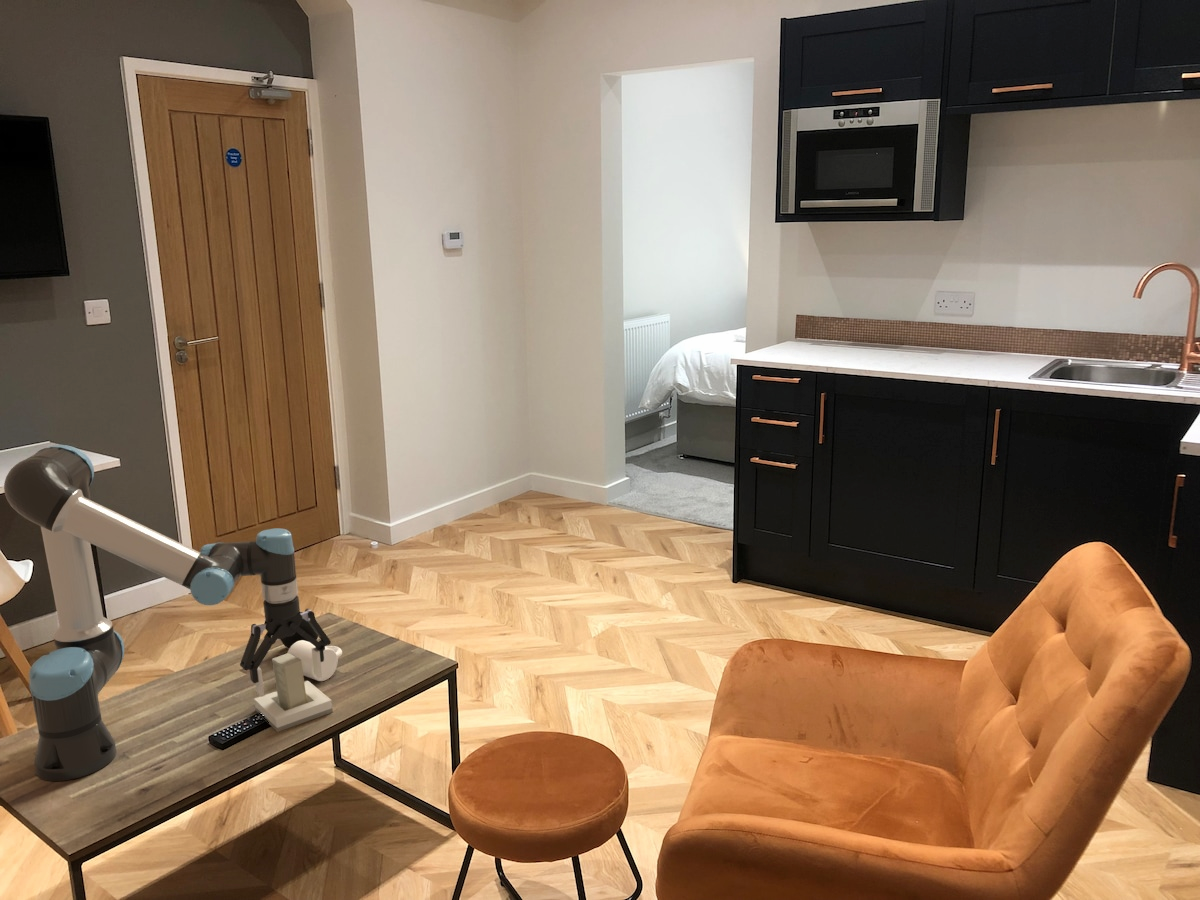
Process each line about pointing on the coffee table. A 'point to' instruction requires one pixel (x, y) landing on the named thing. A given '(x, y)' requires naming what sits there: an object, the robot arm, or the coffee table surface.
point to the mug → (305, 654)
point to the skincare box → (289, 681)
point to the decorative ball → (297, 637)
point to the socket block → (284, 719)
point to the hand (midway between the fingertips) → (289, 684)
